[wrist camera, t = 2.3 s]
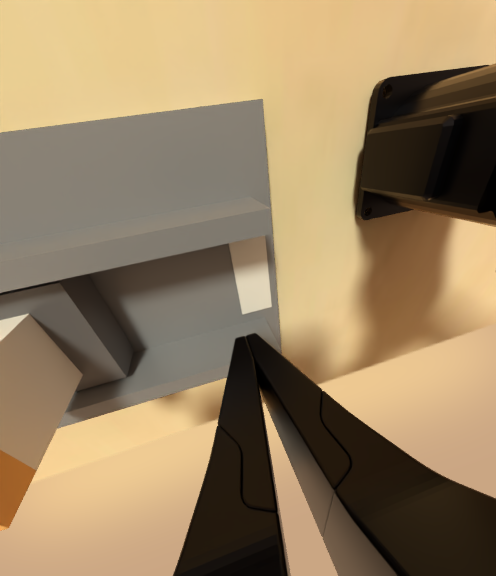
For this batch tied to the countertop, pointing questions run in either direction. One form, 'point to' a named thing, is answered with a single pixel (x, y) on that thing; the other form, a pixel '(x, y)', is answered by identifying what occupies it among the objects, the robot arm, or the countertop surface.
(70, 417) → the housing
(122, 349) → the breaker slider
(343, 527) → the robot arm
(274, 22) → the countertop surface
